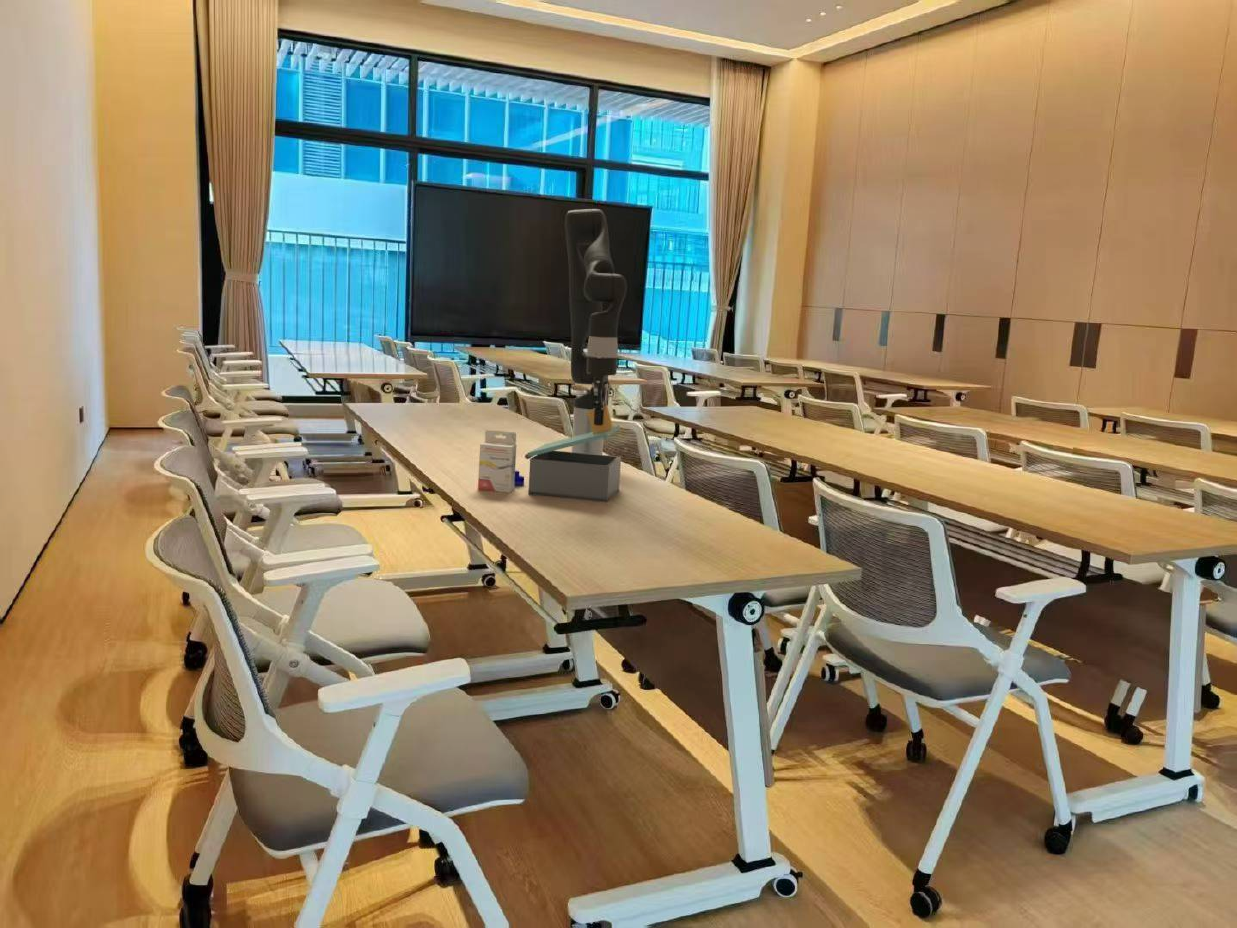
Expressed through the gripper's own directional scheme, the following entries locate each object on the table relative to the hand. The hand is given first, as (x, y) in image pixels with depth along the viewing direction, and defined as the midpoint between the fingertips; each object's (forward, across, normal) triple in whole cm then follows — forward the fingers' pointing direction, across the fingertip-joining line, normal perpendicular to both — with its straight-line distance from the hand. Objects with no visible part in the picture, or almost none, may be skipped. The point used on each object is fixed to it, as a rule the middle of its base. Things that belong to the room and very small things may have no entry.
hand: (599, 424), depth 236 cm
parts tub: (+18, 0, -6) cm, 19 cm away
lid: (+8, 0, -16) cm, 18 cm away
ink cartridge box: (+18, +6, -25) cm, 31 cm away
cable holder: (+18, -4, -24) cm, 30 cm away
